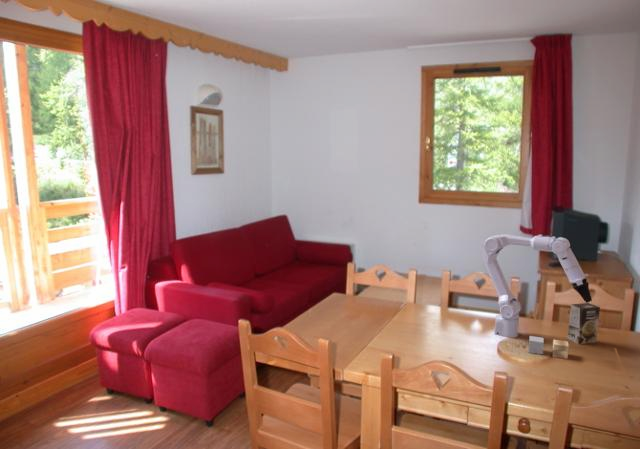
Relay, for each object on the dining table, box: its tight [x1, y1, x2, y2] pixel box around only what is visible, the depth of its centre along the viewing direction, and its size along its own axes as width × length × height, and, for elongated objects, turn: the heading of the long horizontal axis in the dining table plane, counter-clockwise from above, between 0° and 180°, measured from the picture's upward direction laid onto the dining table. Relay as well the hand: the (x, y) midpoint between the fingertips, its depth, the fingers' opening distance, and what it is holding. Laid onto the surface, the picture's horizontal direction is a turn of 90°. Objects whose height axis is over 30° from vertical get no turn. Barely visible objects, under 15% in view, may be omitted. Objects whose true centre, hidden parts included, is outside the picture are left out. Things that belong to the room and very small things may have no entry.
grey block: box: [528, 335, 545, 355], centre depth 186 cm, size 5×5×5 cm
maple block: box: [551, 339, 569, 360], centre depth 183 cm, size 5×5×5 cm
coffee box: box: [567, 302, 601, 345], centre depth 196 cm, size 9×6×16 cm
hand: (588, 299), depth 183 cm, fingers open, 7 cm apart
